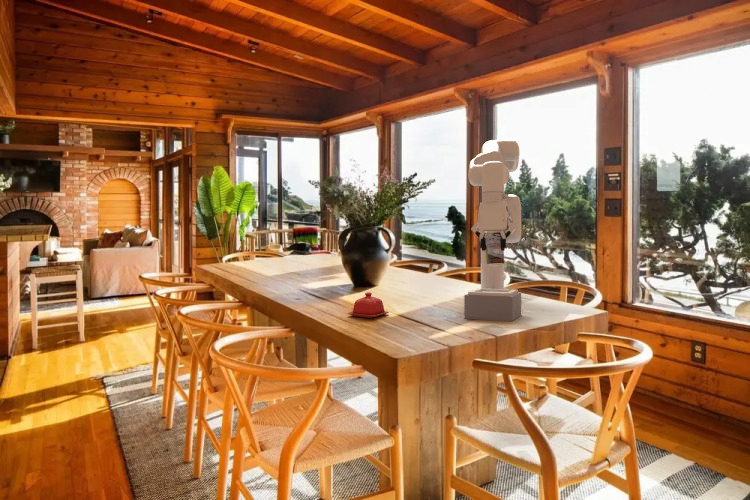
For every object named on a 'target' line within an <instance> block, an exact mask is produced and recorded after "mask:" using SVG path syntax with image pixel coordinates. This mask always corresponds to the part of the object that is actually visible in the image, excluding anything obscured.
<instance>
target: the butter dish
mask: <svg viewBox="0 0 750 500" xmlns="http://www.w3.org/2000/svg"><path fill="white" fill-rule="evenodd" d="M364 295H365V296H363V297H360V298H358V299H356V300H355V301H354V303H353V304H354V305H353V309H352V311H350V312H348V313H347V315H350V316H354V317H356V318H369V319H373V318H378V317H380V316H383V315H386V314H389V313H390V312H389V311H387V310H385V308H384V306H385V305H384V303H383V300H382V299H380V298H379V297H375V296H372V292H365V293H364Z"/></svg>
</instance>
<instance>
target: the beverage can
mask: <svg viewBox="0 0 750 500" xmlns="http://www.w3.org/2000/svg"><path fill="white" fill-rule="evenodd" d="M501 239H502V236H501V233H500V232H489V233H486V236H485V247H486V264H487V265H489V266H490V267H496V266H502V265H503V264H504V265H505V252H504V251H505V250H504V251H501Z"/></svg>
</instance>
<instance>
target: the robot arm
mask: <svg viewBox="0 0 750 500" xmlns="http://www.w3.org/2000/svg"><path fill="white" fill-rule="evenodd" d="M519 161H520V147H519V144H518V142H517V141H516V140H515V139H494V140H493V139H491V140H488V141H486V142H485V143H484V144H482V147H481V153H478V154H477V155H476V156H475V157H474V158H473V159H472V160H470V163H469V166H468V175H467V176H468V177H467V178H468V182H469V183H470V185H471V186H473V187H481V202H479V207H478V213H477V214H478V215H477V222H475V223H474V225H473V226H472V227H471V228H470V230H471V231H472V232H473V233H474V234H475V235H476V236H477V237H478V238H479V244H480V245H479V246H480V289H505V263H504V264H503V265H502V266H496V267H490V266H489V265H487V264H486V247H485V236H486V233H489V232H500V233H501V236H502V239H501V251H505V249H507V244H516V243H519V242H520V241H521V239H522V205H521V200H520V197H519V196H518V195H516V194H508V193H505V185H506V184H507V183H508V181H509V180H510V173H514V172H515V171H517V170H518V167H519Z"/></svg>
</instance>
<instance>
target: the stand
mask: <svg viewBox="0 0 750 500" xmlns="http://www.w3.org/2000/svg"><path fill="white" fill-rule="evenodd" d="M463 297H464V299H463V300H464V304H463V305H464V307H463V308H464V312H463V313H464V319H465V320H485V321H498V322H499V321H501V322H502V321H503V322H513V321H515V320H516V319H518V318H519V317H521V316H522V292H521V291H519V290H518V289H505V288H504V289H481V288H476V289H472V290H469V291H468V292H467V293H466V294H464V296H463Z"/></svg>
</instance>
